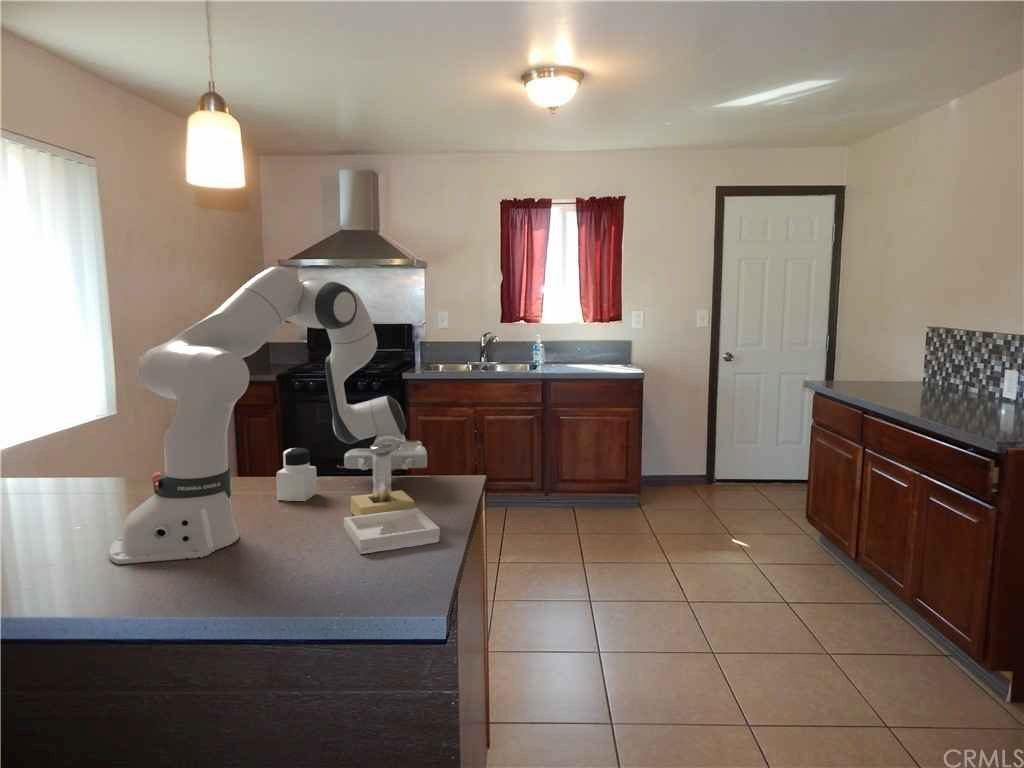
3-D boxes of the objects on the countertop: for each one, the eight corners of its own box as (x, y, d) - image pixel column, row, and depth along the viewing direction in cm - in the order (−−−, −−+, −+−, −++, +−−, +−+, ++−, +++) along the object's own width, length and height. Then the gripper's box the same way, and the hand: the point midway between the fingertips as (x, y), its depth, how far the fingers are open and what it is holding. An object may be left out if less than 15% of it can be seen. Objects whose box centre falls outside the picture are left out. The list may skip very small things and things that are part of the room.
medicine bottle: (317, 494, 162) (316, 446, 161) (305, 502, 155) (304, 453, 154) (289, 492, 163) (288, 445, 161) (276, 501, 156) (275, 452, 154)
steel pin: (373, 521, 143) (373, 449, 141) (367, 514, 148) (367, 444, 146) (396, 517, 146) (396, 447, 144) (390, 511, 150) (389, 442, 148)
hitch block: (360, 525, 140) (360, 507, 140) (350, 513, 148) (350, 496, 147) (414, 518, 145) (414, 501, 145) (402, 506, 153) (401, 490, 153)
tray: (360, 555, 124) (360, 540, 124) (344, 531, 136) (343, 517, 136) (439, 542, 131) (439, 528, 131) (417, 521, 144) (417, 508, 143)
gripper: (347, 441, 167) (339, 453, 154) (427, 441, 170) (427, 453, 156) (347, 465, 168) (339, 479, 154) (427, 464, 171) (427, 478, 157)
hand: (384, 466), depth 155 cm, fingers open, 8 cm apart
